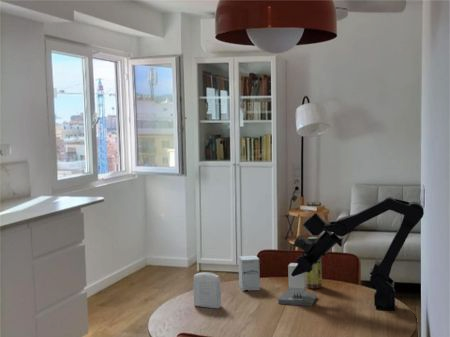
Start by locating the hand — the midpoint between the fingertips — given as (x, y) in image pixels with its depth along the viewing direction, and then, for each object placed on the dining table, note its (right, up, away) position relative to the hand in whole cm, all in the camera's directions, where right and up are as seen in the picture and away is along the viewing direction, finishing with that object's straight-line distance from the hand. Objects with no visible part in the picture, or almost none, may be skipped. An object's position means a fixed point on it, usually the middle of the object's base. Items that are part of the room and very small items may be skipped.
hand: (293, 273), depth 196 cm
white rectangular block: (+1, -7, 0) cm, 7 cm away
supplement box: (-15, -9, +18) cm, 25 cm away
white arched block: (-32, -11, -3) cm, 34 cm away
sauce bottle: (+10, -9, +16) cm, 21 cm away
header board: (+2, -10, 0) cm, 10 cm away
